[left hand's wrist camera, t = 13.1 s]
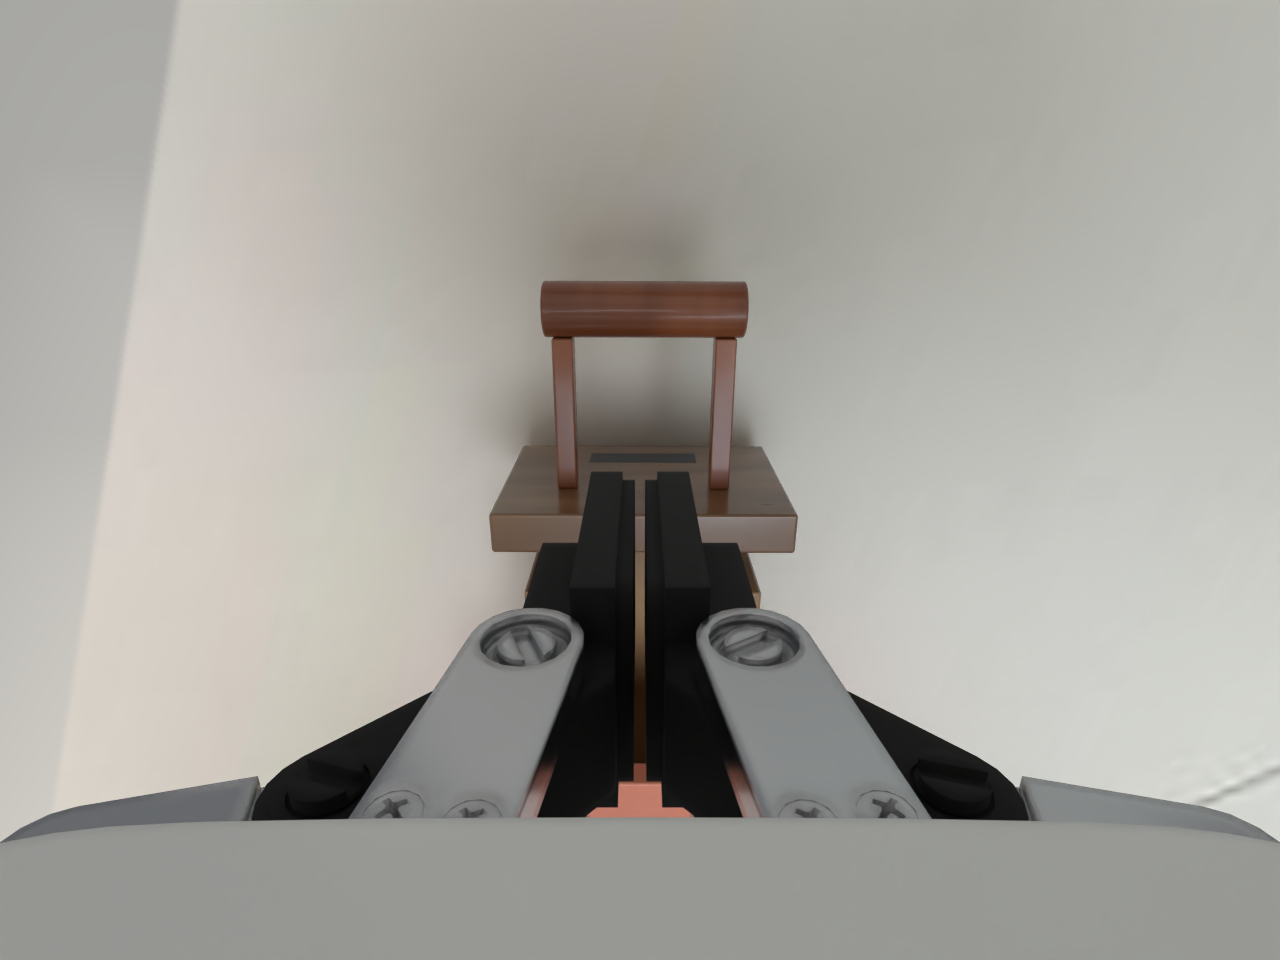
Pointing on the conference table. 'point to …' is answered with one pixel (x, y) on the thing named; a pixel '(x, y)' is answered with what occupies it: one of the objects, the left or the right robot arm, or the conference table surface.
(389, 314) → the conference table surface
